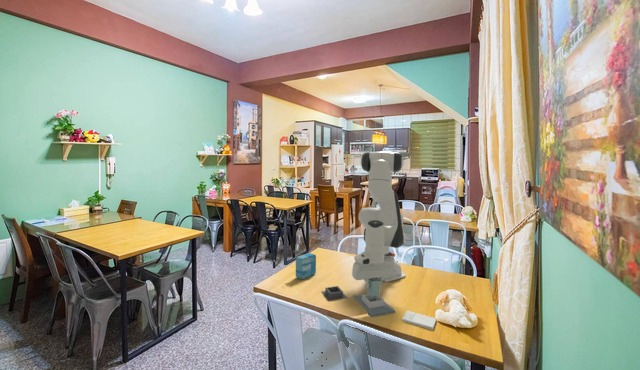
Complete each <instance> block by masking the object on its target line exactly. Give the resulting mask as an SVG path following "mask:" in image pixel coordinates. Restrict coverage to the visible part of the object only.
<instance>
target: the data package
mask: <svg viewBox="0 0 640 370" xmlns="http://www.w3.org/2000/svg"><path fill="white" fill-rule="evenodd" d="M316 271H317V255H316V254H314V253H312V252H308V253H305V254H301V255H299V256H296V258H295V277H296V278H297V279H300V280H304V279H307V278H311V277H312V276H315V274H316Z"/></svg>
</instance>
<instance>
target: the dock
mask: <svg viewBox="0 0 640 370" xmlns="http://www.w3.org/2000/svg"><path fill="white" fill-rule="evenodd" d="M352 297H353V298H354V299H355V300H356V301H357V303H358V304H359V305H361V306H362V308H363V309H365V311H366V312H367V316H369V317H370V318H374V317H375V318H376V317H381V316H386V315H391V314H395V313H396V310H395V309H394V308H393V307H392V306H390V305H389V304H388V303H387V302H386V300H385V299H384V298H383V297H381V296H380V295H379V296H374V297H371V296H370V295H369V294H368V293H364V294H363V293H362V294H357V295H352Z"/></svg>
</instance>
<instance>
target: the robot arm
mask: <svg viewBox="0 0 640 370" xmlns="http://www.w3.org/2000/svg"><path fill="white" fill-rule="evenodd" d="M360 166H361V169H362V170H363V171H365V172H367V173H369V174H368V182H367V186H368V187H367V189H368V192H369V195H370V196H371V198H372V200H373V201H375V202H376V203H377V204H378V205H379V207H371V206H369V207H362V208H361V209H360V211H359V213H358V221H359V223H360V224H361V225H362V226H363V227H364V229H363V241H364V242H365V247H364V251H363V252H360V253H359V254H356V255H355V256H354V258H353V259H354V262H353V266H352V269H351V270H352V274H351V275H352V278H353V279H354V280H355V281H364V282H365V288H370V285H371V284H370V283H368V281H369V279H371V278H378V280H380V287H381V286H382V282H384V283H385V282H386V283H388V282H392V281H395V280H399V279H403V278H406V273H405V272H404V271H403V270H402V266H401V265H400V263H398V261H396V260H395V257H396V253H394V252H391V251H390V248H393V249H394V248H395V249H398V248H399V249H400V247H402V246H403V245H404V244H405V239H406V234H405V232H404V228H403V224H404V216H403V214H402V212H401V207H400V202H399V197H398V194H397V193H396V192H395V191H394V190H393V186H392V185H393V178H392V173H393V174H394V175H395V174H396V173H398V172H400V171H401V170H402V168H403V167H404V158H403V155H402V153H401V152H398V151H394V152H393V151H384V150H383V151H372V152H370V151H368V152H367V151H366V152H364V153H363V154H362V156H361V158H360Z"/></svg>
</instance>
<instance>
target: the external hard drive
mask: <svg viewBox="0 0 640 370" xmlns="http://www.w3.org/2000/svg"><path fill="white" fill-rule="evenodd" d="M437 321H438V318H436V317H432V316H428V315H424V314H421V313H417V312H413V311H410V310H406V311H405V313H404V314H403V315H402V318H401V322H404V323H407V324H410V323H411V324H410V325H414V326H418V327H421V328H424V329H427V330H431V331H434V329H435V326H436V323H437Z"/></svg>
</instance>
